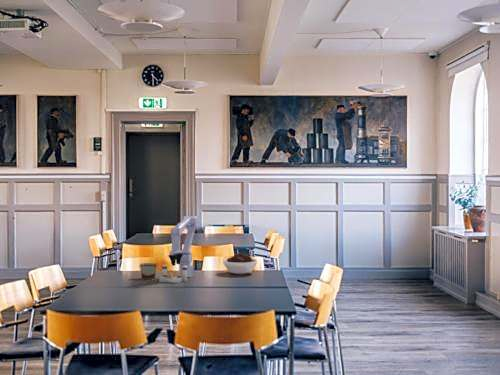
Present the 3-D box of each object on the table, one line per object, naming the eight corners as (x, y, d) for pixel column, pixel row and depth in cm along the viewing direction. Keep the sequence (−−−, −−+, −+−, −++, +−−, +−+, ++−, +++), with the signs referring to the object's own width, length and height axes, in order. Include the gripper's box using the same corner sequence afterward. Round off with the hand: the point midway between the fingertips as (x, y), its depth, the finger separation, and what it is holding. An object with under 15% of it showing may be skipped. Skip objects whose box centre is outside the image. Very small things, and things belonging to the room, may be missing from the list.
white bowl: (216, 274, 427) (216, 253, 427) (235, 269, 448) (235, 250, 448) (245, 277, 414) (245, 255, 414) (263, 272, 435) (263, 252, 435)
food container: (159, 277, 412) (159, 263, 412) (156, 278, 406) (156, 264, 406) (141, 277, 413) (141, 262, 413) (139, 278, 407) (139, 264, 407)
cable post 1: (165, 279, 405) (165, 264, 405) (167, 279, 403) (167, 265, 403) (161, 279, 403) (161, 264, 403) (163, 280, 401) (163, 265, 400)
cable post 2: (185, 280, 400) (185, 265, 400) (188, 280, 398) (188, 266, 398) (181, 280, 398) (181, 266, 398) (184, 281, 396) (184, 266, 396)
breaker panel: (163, 280, 401) (163, 274, 401) (182, 281, 396) (182, 275, 396) (159, 281, 394) (159, 276, 394) (178, 282, 390) (178, 277, 390)
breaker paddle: (168, 276, 395) (168, 272, 395) (172, 276, 394) (172, 272, 394) (167, 276, 394) (167, 272, 394) (171, 277, 393) (171, 273, 393)
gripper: (175, 243, 410) (175, 263, 410) (165, 245, 397) (165, 265, 397) (184, 244, 408) (184, 263, 408) (175, 245, 394) (175, 266, 394)
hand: (175, 264), depth 402 cm, fingers open, 7 cm apart
